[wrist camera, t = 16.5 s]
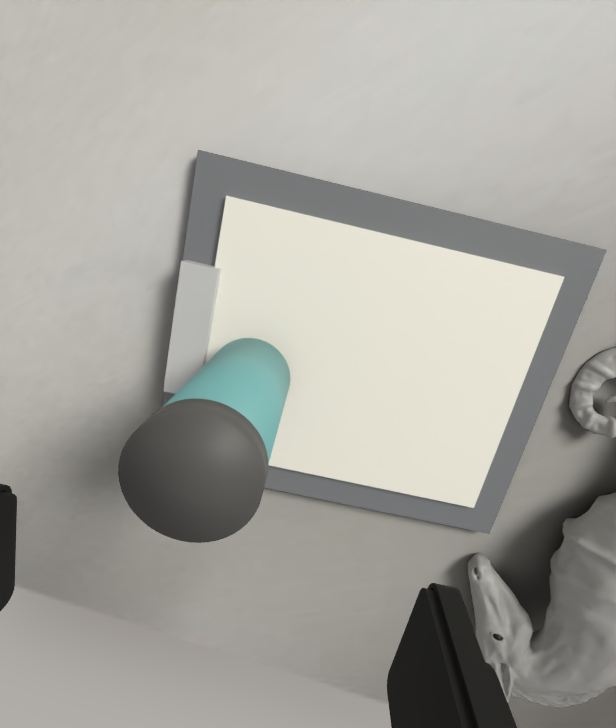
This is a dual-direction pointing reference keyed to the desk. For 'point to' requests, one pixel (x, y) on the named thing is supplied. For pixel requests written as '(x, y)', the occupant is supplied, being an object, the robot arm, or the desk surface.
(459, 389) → the clipboard
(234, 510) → the marker
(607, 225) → the desk surface
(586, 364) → the seahorse
